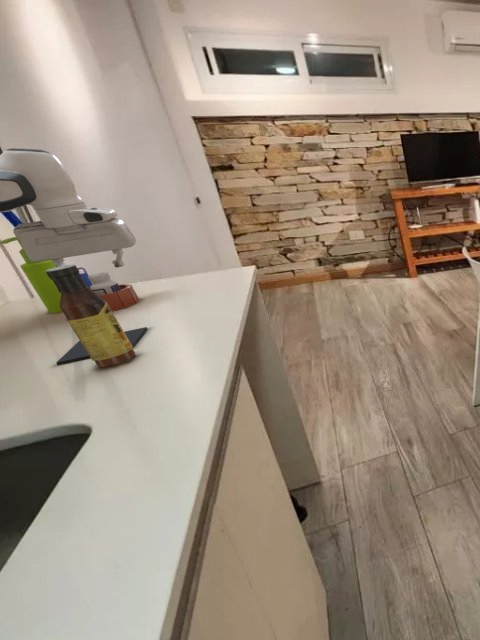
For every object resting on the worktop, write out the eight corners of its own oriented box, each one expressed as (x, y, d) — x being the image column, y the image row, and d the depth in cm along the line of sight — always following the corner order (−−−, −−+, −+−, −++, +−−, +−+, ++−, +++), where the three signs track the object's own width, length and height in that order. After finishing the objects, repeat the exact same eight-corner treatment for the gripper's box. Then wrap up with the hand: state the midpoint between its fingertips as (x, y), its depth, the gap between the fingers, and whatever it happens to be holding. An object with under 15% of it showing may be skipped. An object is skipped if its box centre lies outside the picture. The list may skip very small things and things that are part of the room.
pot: (85, 316, 122) (75, 300, 120) (99, 304, 130) (90, 289, 128) (132, 307, 126) (124, 291, 124) (143, 296, 134) (135, 281, 132)
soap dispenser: (39, 314, 126) (-9, 240, 117) (70, 304, 132) (27, 233, 123) (54, 315, 124) (7, 240, 116) (85, 305, 130) (42, 233, 122)
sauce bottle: (142, 357, 97) (89, 264, 88) (103, 371, 92) (43, 274, 83) (130, 351, 100) (78, 260, 91) (91, 365, 95) (32, 270, 86)
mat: (57, 365, 96) (55, 362, 96) (80, 343, 106) (78, 340, 106) (132, 348, 101) (131, 346, 101) (147, 329, 111) (146, 326, 110)
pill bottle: (124, 301, 131) (107, 270, 127) (131, 303, 128) (114, 272, 125) (99, 308, 127) (81, 276, 123) (106, 311, 124) (88, 279, 121)
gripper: (2, 227, 111) (37, 283, 117) (114, 212, 119) (142, 265, 125) (15, 223, 116) (49, 276, 122) (122, 208, 124) (148, 259, 130)
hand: (97, 270), depth 123 cm, fingers open, 8 cm apart
